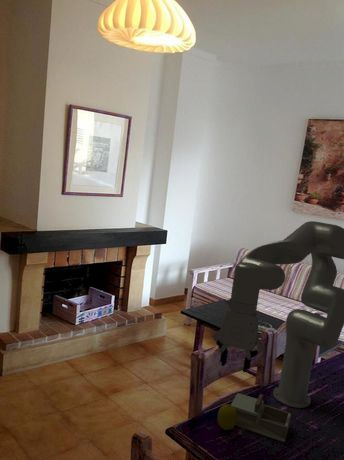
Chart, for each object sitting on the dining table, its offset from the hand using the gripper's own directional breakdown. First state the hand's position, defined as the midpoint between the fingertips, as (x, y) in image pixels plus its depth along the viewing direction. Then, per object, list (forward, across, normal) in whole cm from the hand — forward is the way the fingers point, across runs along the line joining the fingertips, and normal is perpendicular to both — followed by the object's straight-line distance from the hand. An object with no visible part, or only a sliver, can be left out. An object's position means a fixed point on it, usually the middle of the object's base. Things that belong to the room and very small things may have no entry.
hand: (234, 366), depth 119 cm
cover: (+15, +4, +8) cm, 17 cm away
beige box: (+20, +8, +8) cm, 23 cm away
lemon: (+20, 0, 0) cm, 20 cm away
